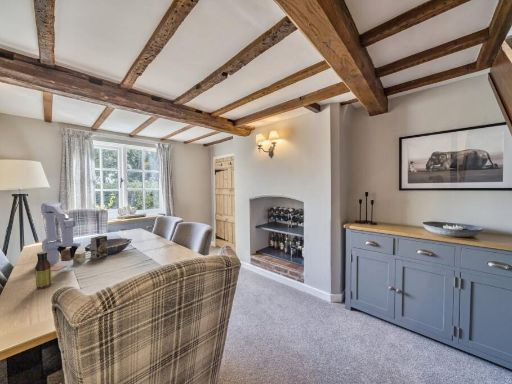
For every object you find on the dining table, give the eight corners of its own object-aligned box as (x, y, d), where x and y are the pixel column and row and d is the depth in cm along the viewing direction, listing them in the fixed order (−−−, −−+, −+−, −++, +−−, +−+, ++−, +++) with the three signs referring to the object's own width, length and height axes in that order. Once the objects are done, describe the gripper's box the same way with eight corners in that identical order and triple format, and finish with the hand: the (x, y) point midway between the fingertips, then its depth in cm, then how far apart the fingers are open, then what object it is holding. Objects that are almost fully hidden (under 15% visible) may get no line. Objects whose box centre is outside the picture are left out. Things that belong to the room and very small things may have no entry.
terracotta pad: (44, 271, 140) (44, 270, 140) (54, 266, 148) (54, 265, 148) (57, 270, 141) (57, 270, 141) (66, 266, 149) (66, 265, 149)
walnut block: (61, 261, 142) (60, 250, 142) (66, 258, 147) (66, 248, 147) (69, 261, 143) (69, 250, 143) (74, 258, 148) (74, 248, 148)
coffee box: (97, 259, 164) (97, 238, 164) (90, 258, 166) (90, 238, 165) (107, 255, 173) (107, 235, 173) (101, 254, 175) (100, 235, 174)
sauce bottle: (42, 284, 124) (42, 250, 123) (54, 284, 124) (53, 250, 124) (32, 290, 117) (31, 254, 116) (44, 289, 118) (43, 254, 117)
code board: (41, 273, 139) (41, 272, 138) (66, 260, 160) (66, 260, 160) (70, 272, 141) (70, 271, 141) (91, 260, 162) (91, 259, 162)
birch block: (73, 263, 154) (73, 254, 153) (78, 261, 159) (77, 251, 158) (80, 263, 154) (80, 253, 154) (85, 261, 159) (85, 251, 159)
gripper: (50, 239, 140) (51, 259, 140) (75, 238, 142) (75, 259, 142) (59, 236, 147) (59, 256, 147) (82, 236, 149) (82, 255, 149)
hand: (68, 257), depth 145 cm, fingers closed on walnut block, 5 cm apart
